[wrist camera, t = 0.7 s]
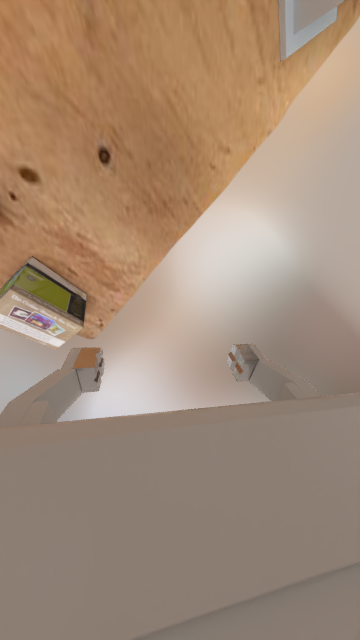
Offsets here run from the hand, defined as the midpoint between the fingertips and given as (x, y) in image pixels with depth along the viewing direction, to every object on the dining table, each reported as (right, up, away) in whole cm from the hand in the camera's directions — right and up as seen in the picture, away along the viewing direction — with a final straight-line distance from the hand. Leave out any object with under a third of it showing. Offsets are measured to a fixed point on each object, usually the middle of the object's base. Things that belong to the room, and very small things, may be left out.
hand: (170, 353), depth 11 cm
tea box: (-34, +11, +37) cm, 51 cm away
